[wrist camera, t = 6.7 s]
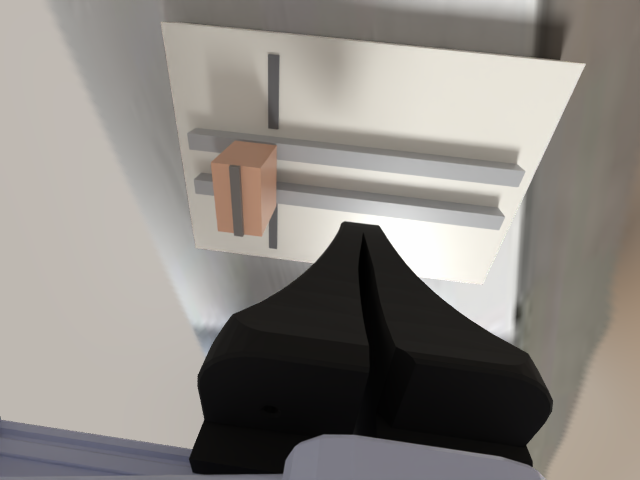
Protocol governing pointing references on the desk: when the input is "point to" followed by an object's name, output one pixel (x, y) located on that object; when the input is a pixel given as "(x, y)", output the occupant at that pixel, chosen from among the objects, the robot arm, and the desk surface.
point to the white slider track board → (366, 139)
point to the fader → (245, 187)
